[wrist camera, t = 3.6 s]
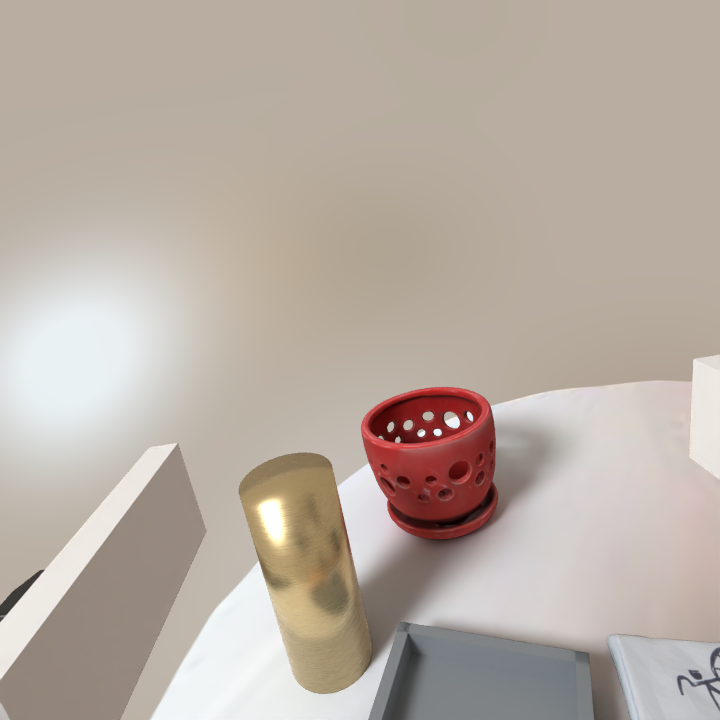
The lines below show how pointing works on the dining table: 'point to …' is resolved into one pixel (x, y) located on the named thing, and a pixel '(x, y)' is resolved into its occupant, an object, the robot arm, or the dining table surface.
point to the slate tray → (480, 679)
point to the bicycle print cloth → (668, 677)
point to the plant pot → (434, 461)
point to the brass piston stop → (308, 569)
